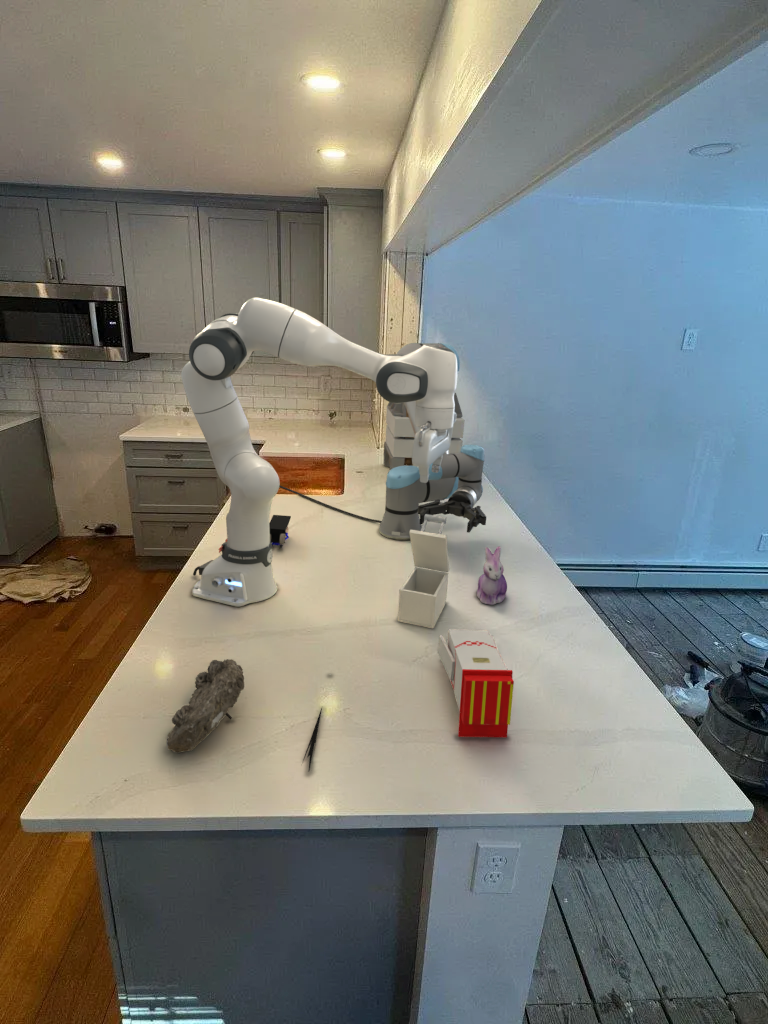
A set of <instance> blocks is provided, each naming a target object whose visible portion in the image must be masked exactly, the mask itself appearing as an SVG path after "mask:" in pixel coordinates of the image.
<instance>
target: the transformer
mask: <svg viewBox="0 0 768 1024" xmlns="http://www.w3.org/2000/svg"><path fill="white" fill-rule="evenodd" d="M454 402H455V410H454V412H455V413H456V421H455V422H454V424H453V431H452V438H451V443H450V447H449V449H448V454H454V453H460V451H461V447H462V446H463V442H464V441H463V440H462V439H463V438H464V431H465V430H464V429H465V419H464V418H463V411H462V408H461V405H460V402H459V398H458V395H457V392H455V393H454ZM385 414H386V415H385V423H386V428H385V438H384V442H383V466H384V467H388V468H389V471H390V470H391V469H393V468H395V467H398V466H405V465H407V466H409V465H412V466H413V464H412V453H413V444H414V438H415V433H414V431H413V428H412V425H411V422H410V419H409V416H408V413H407V410H406V407H405V404H404V403H391V402H388V404H387V405H386V413H385Z"/></svg>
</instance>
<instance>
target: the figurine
mask: <svg viewBox="0 0 768 1024" xmlns="http://www.w3.org/2000/svg"><path fill="white" fill-rule="evenodd" d="M501 547H502V546H500V545H498V546H497V547H496V548H495V550H494V552H493V553H492V551H491V549H490V548H489V547H487V546H486V547H485V548H484V553H485V555H484V556H485V562H484V564H483V566H482V567H483V568H482V570H483V573H482V574H481V575H480V576H479V577H478V579H477V580H478V581H477V591H476V596H477V598H478V599H479V600H480V602H481V603H482V604H485V605H496V604H500V603H502V602H503V601H504V600H505V598H506V595H507V591H508V582H507V580H506V577H505V575H504V574H503V573H504V571H505V570H504V566H503V563H502V561H501V552H502V548H501Z"/></svg>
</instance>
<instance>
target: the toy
mask: <svg viewBox="0 0 768 1024" xmlns="http://www.w3.org/2000/svg"><path fill="white" fill-rule="evenodd" d="M446 640H447V643H446V641H445V639H444V636H443V635H442V634H439V637H438V646H437V656H438V657H439V659H440V661H441V663H442V666H443V668H444V670H445V672H446V674H447V677H448V679H449V681H450V684H451V687H452V690H453V693H454V697H455V701H456V705H457V708H458V711H459V714H458V715H459V716H458V730H457V731H458V732H457V737H458V738H508V731H509V726H510V725H511V717H512V707H513V697H514V696H513V695H514V684H515V680H514V679H513V673H514V671H513V670H512V669H508V667H507V665H506V662H505V661H504V659H503V658H502V655H501V653H500V651H499V649H498V647H497V643H496V639H495V637H494V635H493V634H491V632H490V631H489V629H467V628H466V629H465V628H463V629H461V628H460V629H459V628H448V630H447V639H446Z"/></svg>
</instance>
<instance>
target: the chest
mask: <svg viewBox="0 0 768 1024" xmlns="http://www.w3.org/2000/svg"><path fill="white" fill-rule="evenodd" d="M448 584H449V572H443V571H437V570H432V569H426V568H420V567H415V566H414V568H413V569H412V571H411V572H410V574H408V576H407V578H406V580H405V581H404V583H403V584H402V586H401V587H400V589H399V590H398V591H399V595H398V611H397V613H398V614H397V622H401V623H404V624H409V625H410V624H411V625H413V626H419V627H423V628H429V629H434V628H435V626H436V624H437V622H438V620H439V618H440V616H441V615H442V612H443V610H444V608H445V606H446V603H447V594H448Z"/></svg>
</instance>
